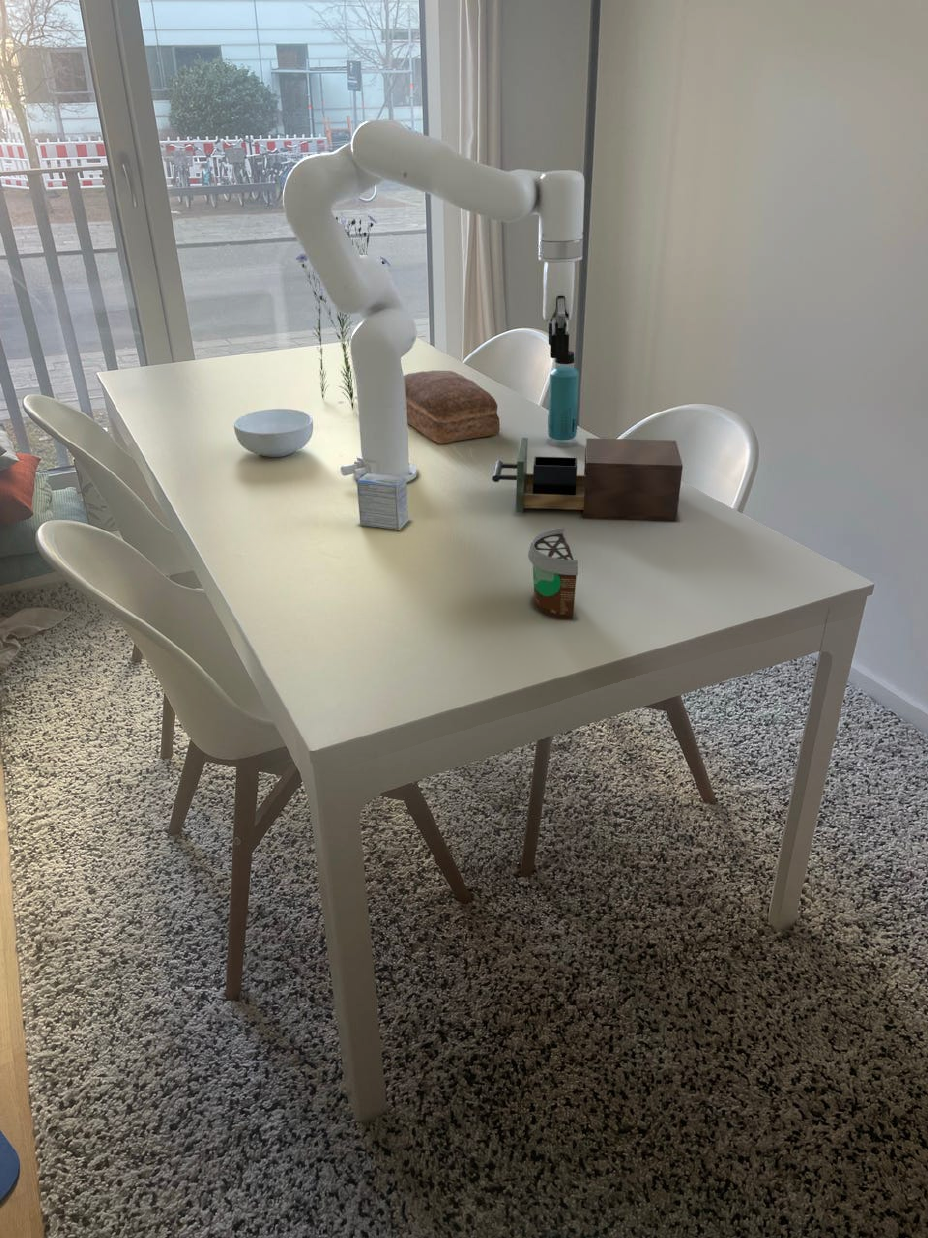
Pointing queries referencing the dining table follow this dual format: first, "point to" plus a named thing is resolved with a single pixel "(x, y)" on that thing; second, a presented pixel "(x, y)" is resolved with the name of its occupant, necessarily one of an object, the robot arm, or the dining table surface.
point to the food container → (553, 574)
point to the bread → (449, 407)
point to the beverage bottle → (563, 400)
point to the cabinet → (632, 479)
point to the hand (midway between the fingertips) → (558, 351)
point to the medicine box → (382, 501)
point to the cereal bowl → (274, 431)
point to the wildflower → (304, 258)
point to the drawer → (525, 486)
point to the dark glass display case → (554, 475)
